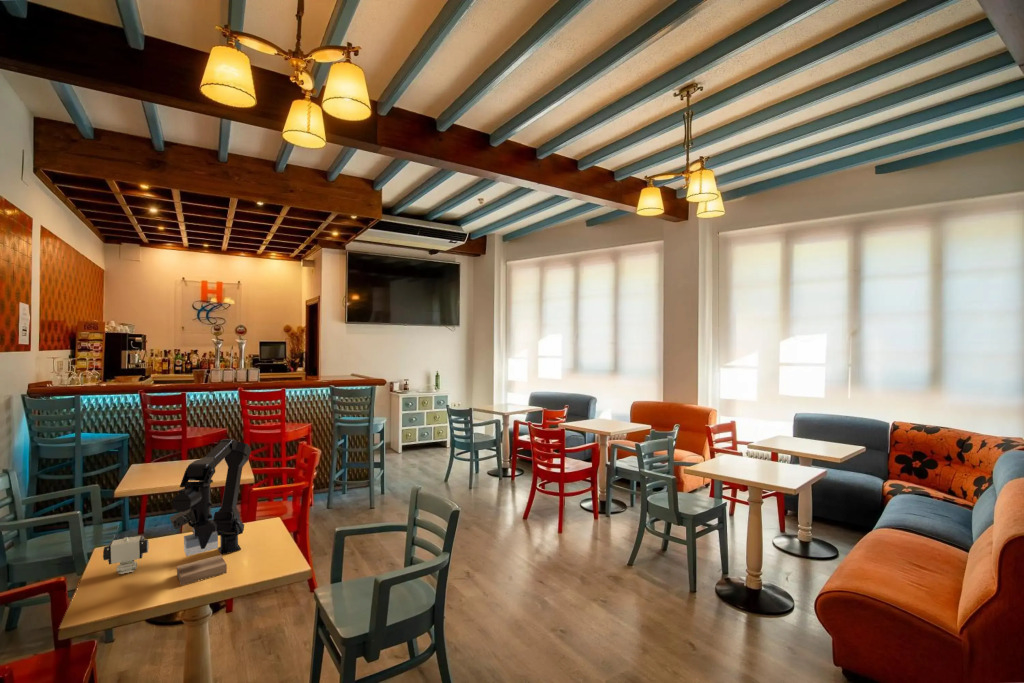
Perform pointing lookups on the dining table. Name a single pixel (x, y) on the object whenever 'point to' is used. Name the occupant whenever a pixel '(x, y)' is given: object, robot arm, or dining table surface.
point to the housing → (194, 546)
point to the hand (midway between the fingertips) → (201, 545)
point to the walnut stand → (201, 569)
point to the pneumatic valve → (126, 552)
